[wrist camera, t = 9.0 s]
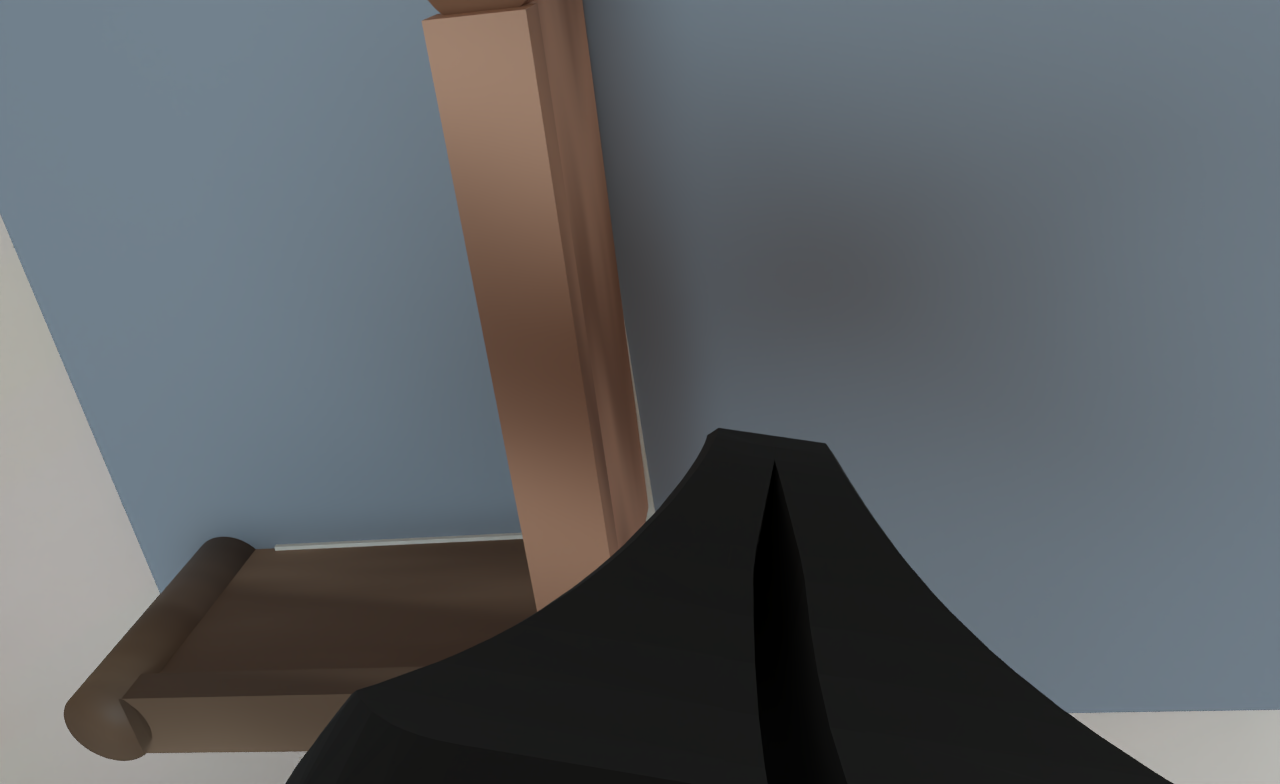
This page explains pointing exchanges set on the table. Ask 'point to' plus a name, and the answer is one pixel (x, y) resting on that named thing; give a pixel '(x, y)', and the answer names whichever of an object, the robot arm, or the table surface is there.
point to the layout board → (708, 289)
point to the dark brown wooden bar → (289, 641)
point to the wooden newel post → (543, 273)
